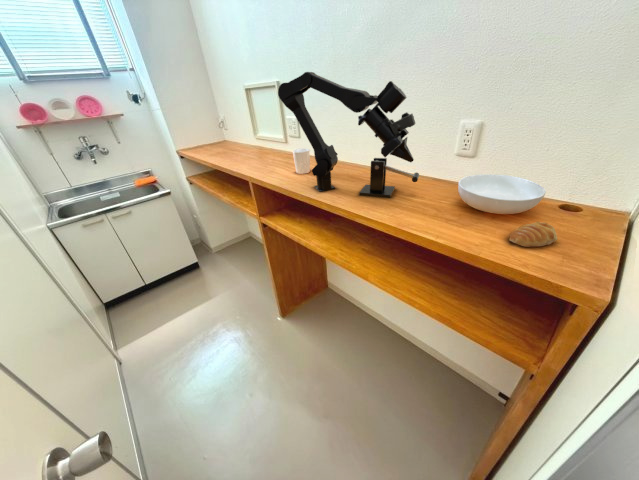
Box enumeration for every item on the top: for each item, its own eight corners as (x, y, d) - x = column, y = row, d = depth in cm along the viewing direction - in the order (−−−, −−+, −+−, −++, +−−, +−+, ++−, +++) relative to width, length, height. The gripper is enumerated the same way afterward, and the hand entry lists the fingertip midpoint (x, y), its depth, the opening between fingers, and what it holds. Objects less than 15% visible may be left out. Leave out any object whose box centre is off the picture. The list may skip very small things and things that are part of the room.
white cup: (297, 169, 126) (294, 149, 121) (312, 169, 125) (310, 148, 119) (293, 174, 119) (290, 152, 114) (309, 174, 118) (307, 152, 113)
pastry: (527, 252, 55) (533, 237, 54) (499, 238, 61) (504, 224, 59) (557, 243, 58) (564, 228, 56) (528, 230, 63) (533, 216, 61)
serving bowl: (451, 216, 72) (456, 193, 69) (456, 191, 88) (460, 171, 84) (543, 228, 63) (554, 203, 60) (530, 198, 79) (538, 176, 75)
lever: (417, 179, 87) (420, 172, 85) (416, 183, 83) (419, 177, 81) (375, 165, 90) (377, 158, 89) (372, 169, 86) (374, 162, 85)
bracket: (394, 189, 94) (397, 157, 88) (390, 198, 87) (393, 163, 81) (365, 187, 98) (366, 156, 92) (359, 195, 91) (359, 162, 85)
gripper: (395, 106, 68) (432, 149, 70) (405, 101, 83) (435, 137, 84) (366, 137, 75) (400, 176, 77) (379, 127, 90) (408, 160, 91)
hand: (412, 161), depth 82 cm, fingers closed
